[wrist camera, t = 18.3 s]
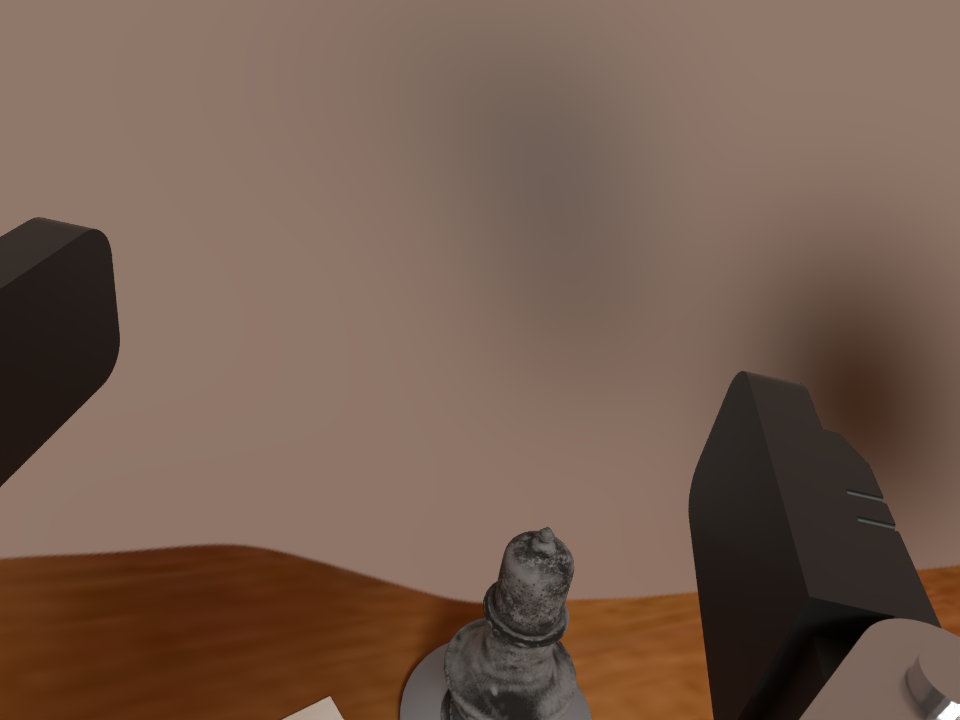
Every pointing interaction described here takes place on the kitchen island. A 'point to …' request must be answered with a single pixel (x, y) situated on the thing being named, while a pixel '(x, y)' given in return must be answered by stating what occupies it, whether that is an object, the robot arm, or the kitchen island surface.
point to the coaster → (431, 687)
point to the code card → (318, 712)
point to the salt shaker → (516, 640)
